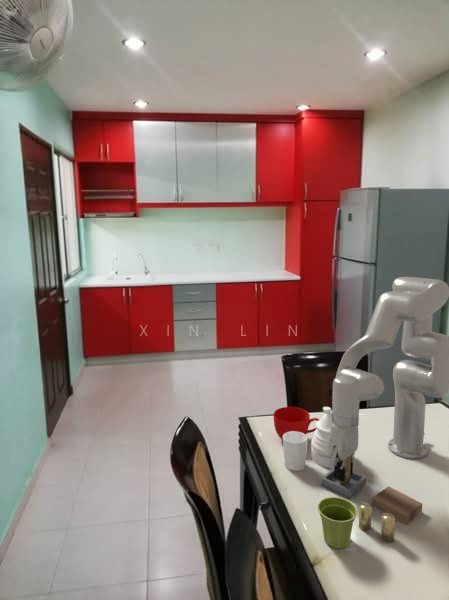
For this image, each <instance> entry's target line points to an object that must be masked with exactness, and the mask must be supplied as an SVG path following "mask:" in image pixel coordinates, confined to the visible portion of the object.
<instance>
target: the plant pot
mask: <svg viewBox="0 0 449 600" xmlns="http://www.w3.org/2000/svg"><path fill="white" fill-rule="evenodd" d="M317 511H318V514H319V515H320V518H321V525H322V530H323V531H322V532H323V533H322V534H323V540H324V542H325V543H326V544H327V545H329V546H331V547H332V548H334V549H343V548H344V549H345V548H346V547H347V546H348V545H349V544H350V541H351V535H352V530H353V525H354V524H353V523H354V521H355V519H356V518H357V516H358V509H357V507H356V506H355V504H354V503H352V502H351V501H350V500H348V499H345V498H344V497H339V496H329V497H325V498H322V499H321V500H320V501H319V502H318V504H317Z"/></svg>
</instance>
